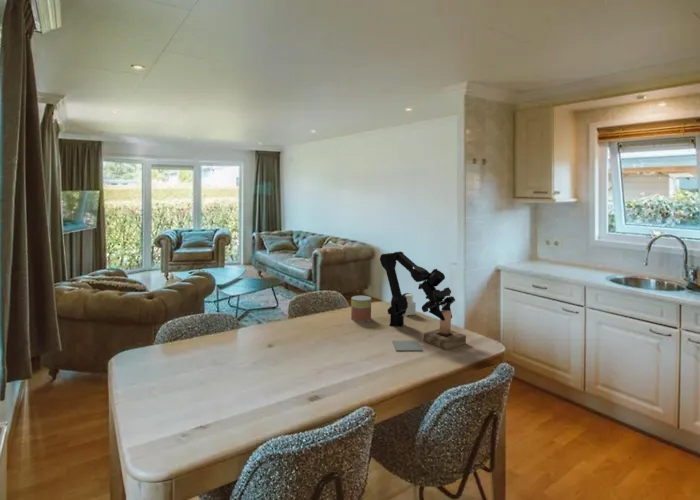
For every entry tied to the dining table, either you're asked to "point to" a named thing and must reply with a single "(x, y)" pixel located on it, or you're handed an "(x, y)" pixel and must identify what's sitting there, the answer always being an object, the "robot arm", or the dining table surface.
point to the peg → (445, 322)
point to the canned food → (361, 308)
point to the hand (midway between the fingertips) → (447, 319)
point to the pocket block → (444, 339)
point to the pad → (407, 345)
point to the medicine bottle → (410, 305)
